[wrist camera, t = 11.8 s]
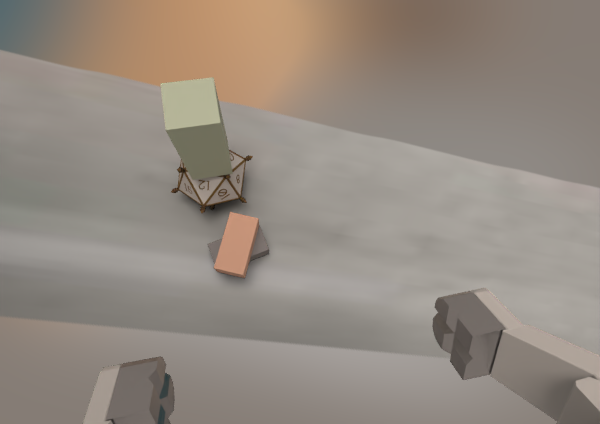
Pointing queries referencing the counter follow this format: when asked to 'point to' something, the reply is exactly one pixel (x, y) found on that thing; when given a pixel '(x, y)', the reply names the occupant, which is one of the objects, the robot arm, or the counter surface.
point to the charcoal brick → (258, 250)
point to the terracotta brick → (237, 245)
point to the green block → (196, 127)
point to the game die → (214, 184)
